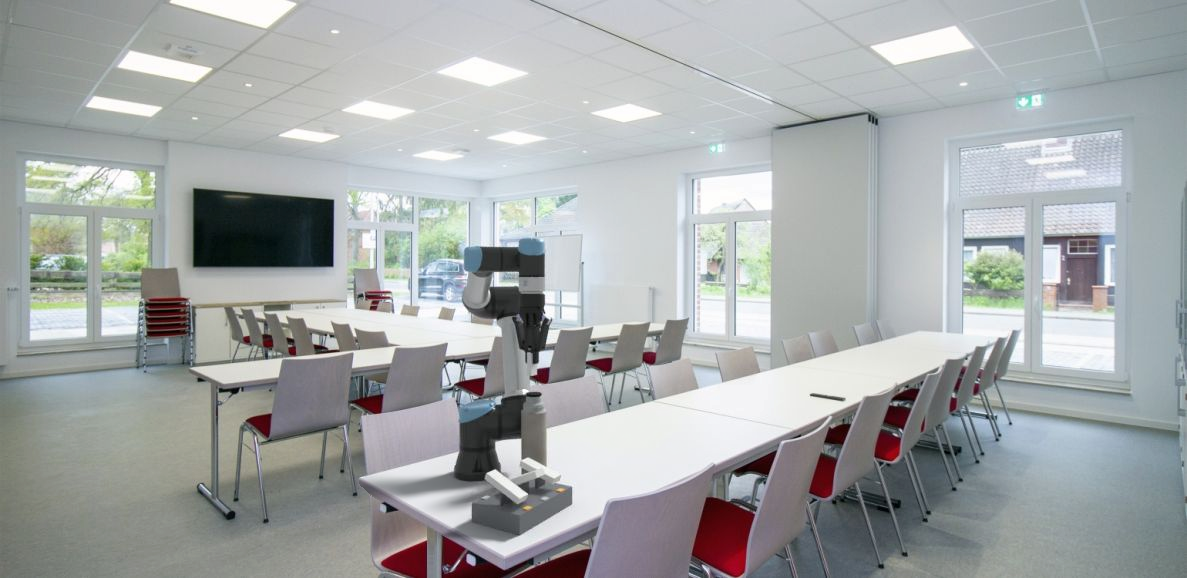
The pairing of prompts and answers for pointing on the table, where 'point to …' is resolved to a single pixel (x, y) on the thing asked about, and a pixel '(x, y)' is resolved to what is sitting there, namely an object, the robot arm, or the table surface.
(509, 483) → the rocker
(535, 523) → the console
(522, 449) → the thermos bottle
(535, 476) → the rocker
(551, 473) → the rocker
